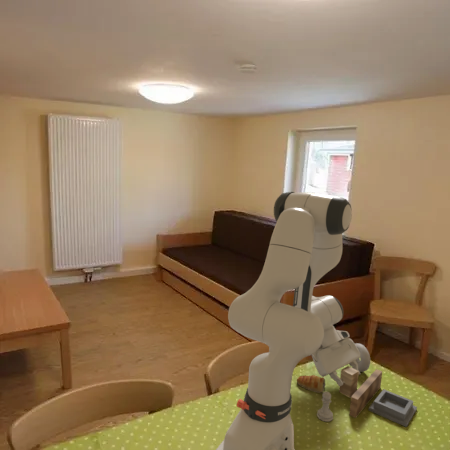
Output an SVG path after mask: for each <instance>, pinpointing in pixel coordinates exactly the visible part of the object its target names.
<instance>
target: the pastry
mask: <svg viewBox="0 0 450 450" xmlns="http://www.w3.org/2000/svg"><path fill="white" fill-rule="evenodd" d="M296 382H297V385H298V386H300V387H301V388H304V389H305V390H307V391H311V392H314V393H319V394H323V393H324V392H325V391H324V390H325V387H326V380H325V376H324V377H322V376H318V375H315V374H313V375H299V377H297V378H296Z"/></svg>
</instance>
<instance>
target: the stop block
mask: <svg viewBox="0 0 450 450" xmlns="http://www.w3.org/2000/svg"><path fill="white" fill-rule="evenodd" d="M359 372H360V371H357V370H355V369H353V368H352V366H350V365H346V366H344V368H343V367H342V369H340V377H339V378H340V379H343V381H344V382H345V384H343V385H342V386H339V391H338V392H339V393H340V394H342V395H344V396H346V397H347V398H350V399H351V396H352V395H353V394H354V393H355V392H356V391H357V390H358V384H359V376H360V375H359ZM358 375H359V376H358Z"/></svg>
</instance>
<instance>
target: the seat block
mask: <svg viewBox="0 0 450 450" xmlns="http://www.w3.org/2000/svg"><path fill="white" fill-rule="evenodd" d="M417 409H418V406H416V405H414V400H412V399H409V398H406V397H404V396H402V395H399V394H396V393H394V392H392V391H390V390H387V389H382V391H381V392H380V393H379V394H378V395H377V397H376V398H375V399H374V400H373V401H372V403H371V404H370V405H369V407H368V411H370V412H372V413H374V414H376V415H378V416H381V417H382V418H385V419H388V420H390V421H391V422H394V423H397V424H398V425H401V426H403V427H405V428H407V427H408V426H409V423H410V422H411V420H413V419H412V418H413V417H414V415H415V413H416V412H417Z"/></svg>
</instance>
